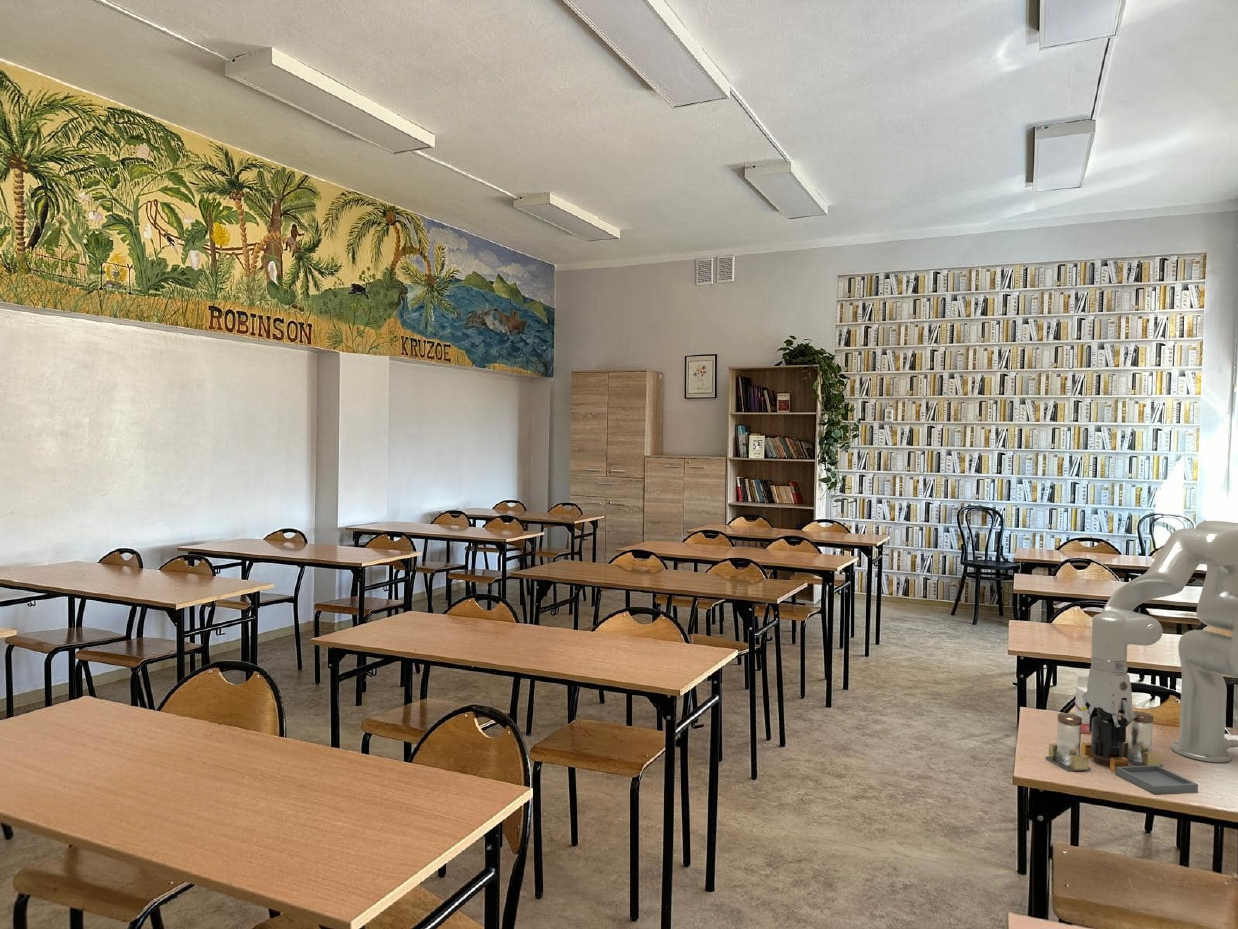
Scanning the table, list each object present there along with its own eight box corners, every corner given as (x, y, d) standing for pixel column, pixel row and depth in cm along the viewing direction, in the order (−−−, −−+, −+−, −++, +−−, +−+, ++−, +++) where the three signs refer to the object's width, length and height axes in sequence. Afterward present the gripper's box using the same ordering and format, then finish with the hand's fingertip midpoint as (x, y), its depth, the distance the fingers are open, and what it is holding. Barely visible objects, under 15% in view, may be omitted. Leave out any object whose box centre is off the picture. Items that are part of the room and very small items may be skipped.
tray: (1156, 772, 199) (1157, 765, 199) (1197, 792, 188) (1198, 784, 188) (1115, 774, 197) (1115, 767, 197) (1154, 794, 186) (1154, 786, 186)
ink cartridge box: (1081, 734, 226) (1083, 680, 225) (1073, 728, 231) (1075, 675, 230) (1114, 736, 225) (1117, 682, 225) (1105, 730, 230) (1108, 677, 230)
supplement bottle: (1123, 762, 200) (1124, 713, 200) (1091, 757, 203) (1092, 708, 203) (1122, 753, 206) (1123, 705, 206) (1090, 748, 209) (1091, 701, 209)
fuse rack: (1131, 753, 212) (1134, 707, 212) (1167, 769, 201) (1169, 721, 201) (1041, 756, 208) (1043, 709, 207) (1072, 774, 197) (1075, 724, 196)
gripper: (1150, 674, 196) (1148, 748, 197) (1095, 655, 213) (1094, 724, 214) (1122, 675, 195) (1121, 750, 195) (1070, 656, 212) (1068, 725, 212)
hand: (1107, 736), depth 205 cm, fingers closed on supplement bottle, 6 cm apart
